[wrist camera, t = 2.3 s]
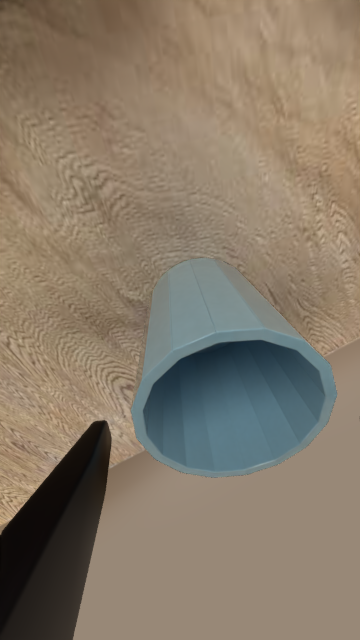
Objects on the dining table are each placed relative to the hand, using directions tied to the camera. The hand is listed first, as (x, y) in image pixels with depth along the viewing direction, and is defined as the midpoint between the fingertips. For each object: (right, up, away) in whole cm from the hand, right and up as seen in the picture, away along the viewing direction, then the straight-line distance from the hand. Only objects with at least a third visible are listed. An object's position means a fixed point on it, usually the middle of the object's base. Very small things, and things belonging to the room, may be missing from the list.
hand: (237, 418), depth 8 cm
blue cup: (-1, +4, +8) cm, 9 cm away
